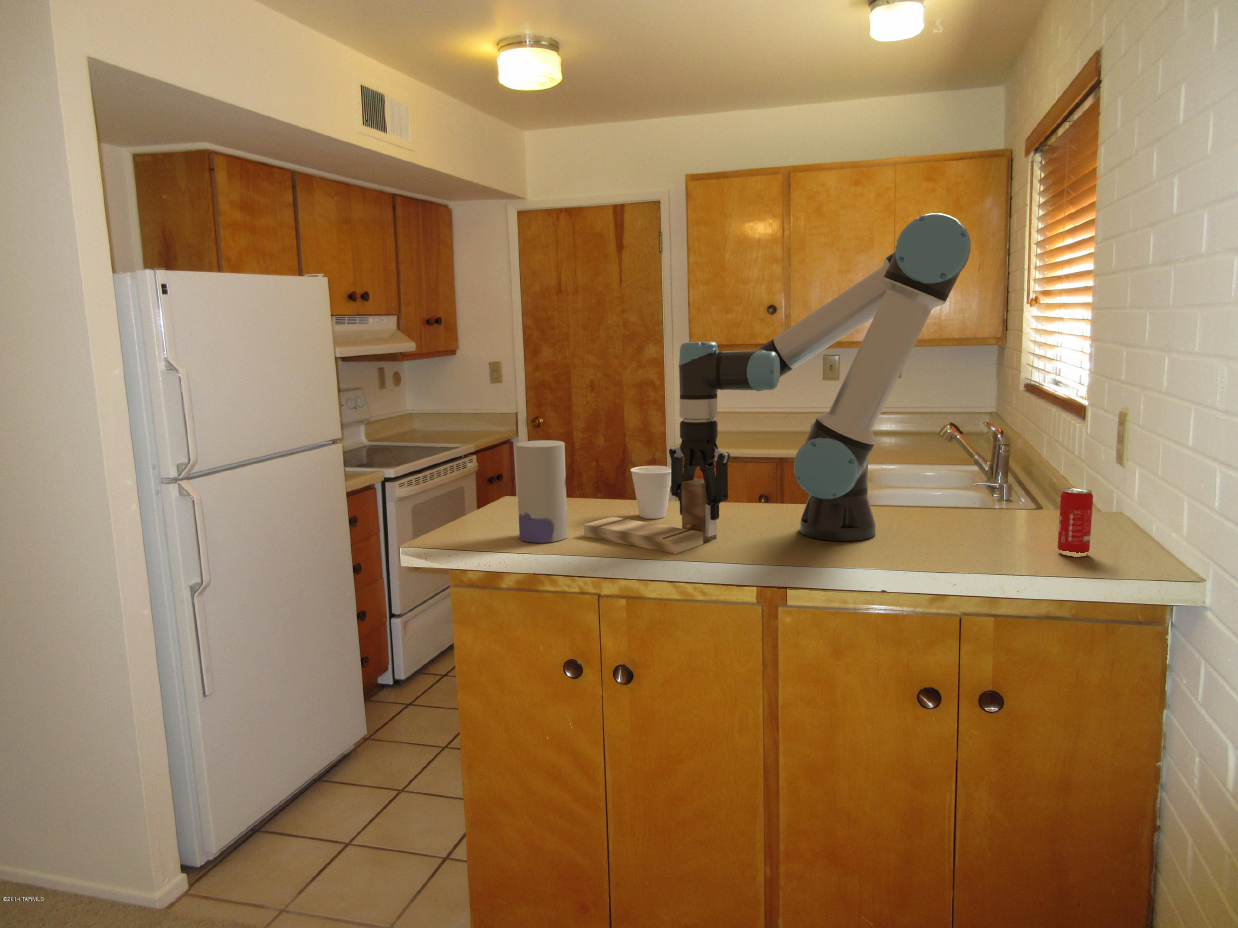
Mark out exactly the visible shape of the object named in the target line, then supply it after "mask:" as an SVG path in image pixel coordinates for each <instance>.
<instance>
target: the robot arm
mask: <svg viewBox="0 0 1238 928" xmlns="http://www.w3.org/2000/svg"><path fill="white" fill-rule="evenodd" d="M971 244H972V243H971V237H970V234H969V231H968V229H967V228H966V226H965V225H964V224H963V223H962V222H961V221H960V220H959V219H957V218H955V217H953V216H951V215H948V214H945V213H941V212H940V213H937V212H936V213H934V212H933V213H927V214H923V215H921V216H918V217H916V218H914V219H913V220H912V221H911V222H909V223H908V224H906V226H905V227H904V228H903V229H902V230H901V232H900V233H899V235H898V238H897V240H896V245H895V249H894V251H893V252H892V253H890V255H888V256H886V257H885V258H884V260H883V263H882V264H883V265H882V266H880V267H879V268H878V269H876V270H875V271H873V272H872V273H870V274H869V275H867V276H866V277H864V278H863V279H861V280H859V281H858V282H856V283H855V284H853V285H852V286H850V287H849V288H848V289H846V290H844V291H843V292H841V293H839V295H837V296H835V297H834V298H832V299H831V300H829V301H828V302H826V303H825V304H823V305H822V306H821V307H819V308H817V309H816V310H814V311H813V312H811V313H810V314H809V315H807V316H805V317H803V318H802V319H800V320H799V321H798V322H796V323H795V324H793V325H791V326H790V327H788V328H787V329H786V330H784V331H782V332H781V333H779V334H778V335H777V336H775V337H774V338H772V339H770V340H769V341H767V342H766V343H765V344H763V345H761V346H760V347H758V348H756V349H753V350H747V351H739V350H738V351H721V350H720V351H719V349H718V343H717V342H715V341H685V342H684V343H682V344H681V345H680V347H679V361H678V374H679V375H678V377H679V378H678V379H679V418H680V419H682V420H681V421H680V422H679V437H680V439H681V443H680V444H679V447H674V448H670V449H669V450H668V454H669V458H670V461H671V462H670V464H671V465H670V467H671V486H670V493H671V496H672V497H675V498H677V499H678V500H679V514H680V516H682V482H683V481H689V480H693V479H695V474H696V469H697V468H698V467H699V470H700V472H701V473H702V479H704V482H705V483H706V492H707V496H708V501H709V502H708V503H707V504H706V505H705V514H706V536H707V537H709V536H712V535H715V534H716V524H717V520H719V518H720V504H721V503H723V502H726V501H728V499H729V477H728V476H729V473H728V472H729V470H728V469H729V468H728V467H729V466H728V465H729V464H728V463H729V462H730V457H731V453H730V452H728V451H727V452H726V451H725V452H724V451H722V450H720V449H719V446H718V445H717V439H718V425H719V424H718V421H717V420H715V419H717V417H718V390H719V391H725V390H726V391H755V392H761V391H773V390H776V388H777V387H778V386H779V385H778V384H779V383H780V382H779V381H780V379H781V378H782V377H783V376H785V375H786V374H788V373H789V372H791V371H792V370H793V369H795V368H797V367H799V366H800V365H802V364H803V363H805V362H807V361H808V360H810V359H811V358H813V357H815V356H816V355H818V354H819V353H820V352H822V351H823V350H825V349H827V348H828V347H830V346H831V345H833V344H835V343H836V342H838V341H840V340H841V339H843V338H844V337H846V336H848V335H849V334H851V333H852V332H854V331H855V330H857V329H858V328H860V327H862V326H863V325H865V324H866V323H868V322H869V321H871V323H870V325H869V326H868V329H867V331H866V332H865V335H864V337H863V339H862V341H861V343H860V346H859V348H858V350H857V352H856V353H855V356H854V358H853V359H852V362H851V364H850V367H848V368H849V369H848V370H847V373H846V375H845V377H844V379H843V382H842V384H841V386H840V388H839V390H838V392H837V394H836V396H835V398H834V400H833V402H832V404H831V406H830V408H829V410H828V411H827V412H824V413H822V414H819V415H817V417H816V419H815V422H813V423H811V424H810V430H809V434H808V435H807V437H806V439H805V442H804V444H803V445H801V447H800V448H799V449H798V450H797V452H796V454H795V457H794V460H793V461H794V462H793V463H794V464H793V473H794V476H795V479H796V481H797V483H798V484H799V486H800V487H801V488H802V489H803V490H804V491H805V492H806V493H808V494H809V495H808V498H807V500H806V503H805V507H804V511H803V512H802V515H801V518H800V522H799V523H800V524H799V525H800V527H799V528H800V530H799V531H800V533H801V534H802V535H803V536H806V537H809V538H813V539H816V540H824V541H835V542H851V541H853V542H854V541H863V540H868V539H871V538H873V537H875V536H876V531H877V530H876V528H877V525H876V521H875V517H874V513H873V511H872V508H871V505H870V501H869V497H868V491H869V489H868V488H869V485H868V484H869V456H870V454H871V452H872V450H873V449H874V446H875V444H876V443H877V441H876V438H875V436H874V433H873V430H874V428H875V426H876V423H877V422H878V419H879V417H880V415H881V413H882V411H883V409H884V408H885V405H886V403H887V401H888V400H889V397H890V395H891V393H892V391H893V390H894V387H895V385H896V383H897V381H898V379H899V377H900V375H901V374H902V371H903V369H904V367H905V365H906V363H907V361H908V359H909V357H910V355H911V353H912V351H913V349H914V347H915V344H916V343H917V340H918V339H919V337H920V335H921V333H922V331H923V328H924V326H925V325H926V323H927V321H928V319H929V317H930V315H931V312H932V310H934V309H935V308H938V307H941V306H943V305H945V304H946V302H947V301H948V299H949V297H950V294H951V293H952V290H953V288H954V287H955V284H956V283H957V280H958V279H959V276H960V274H961V272H962V271H963V270H964V269H965V267H966V265H967V263H968V260H969V257H970V254H971V248H972V247H971ZM714 460H715V461H716V462H715V461H714Z"/></svg>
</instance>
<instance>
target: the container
mask: <svg viewBox="0 0 1238 928" xmlns="http://www.w3.org/2000/svg"><path fill="white" fill-rule="evenodd" d="M565 446H566V445H565V441H561V440H550V439H549V440H546V439H544V440H543V439H542V440H528V441H521V442H517V443H516V444H515V456H516V457H515V458H516V459H515V460H516V484H517V505H518V507H517V508H518V527H519V528H518V529H519V530H518V531H519V534H518V535H519V539H520V540H521V541H522V542H526V543H527V542H528V543H533V544H534V543H536V544H537V543H538V544H545V543H553V542H559V541H562V540H565V539H567V538H568V523H567V522H568V511H567V508H568V507H567V506H568V505H567V504H568V503H567V482H566V481H567V479H566V478H567V476H566V474H567V473H566V450H565V448H566V447H565Z"/></svg>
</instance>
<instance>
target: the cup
mask: <svg viewBox="0 0 1238 928" xmlns="http://www.w3.org/2000/svg"><path fill="white" fill-rule="evenodd" d="M630 472H631V475H632V476H631V477H632V483H633V487H634V492H635V498H636V499H635V500H636V504H637V508H638V510H637V511H638V515H639V517H641V518H642V519H647V520H656V519H658V520H659V519H663V518H665V516H666V515H667V512H668V511H667V510H668V503H669V497H670V493H671V466H665V465H644V466H637V467H632V468H630Z"/></svg>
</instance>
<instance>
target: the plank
mask: <svg viewBox="0 0 1238 928" xmlns="http://www.w3.org/2000/svg"><path fill="white" fill-rule="evenodd" d="M583 533H584V534H583V535H584V537H587V538H593V539H598V540H603V541H608V542H613V543H619V544H623V545H629V546H633V545H634V546H635V547H640V548H644V549H649V550H654V551H659V552H665V553H671V554H676V555H677V554H679V553H682V552H685V551H687V550H691V549H693V548H697V547H698V546H702V545H703V544H704V543H703V532H700V531H694V530H691V529H689V530H688V529H682V527H676V526H669V525H663V524H659V523H658V524H657V523H651V522H645V521H639V520H634V519H628V518H625V517H624V518H623V517H617V516H609V517H606V518H602V519H598V520H595V521H592V522H588V523H584V524H583Z"/></svg>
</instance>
